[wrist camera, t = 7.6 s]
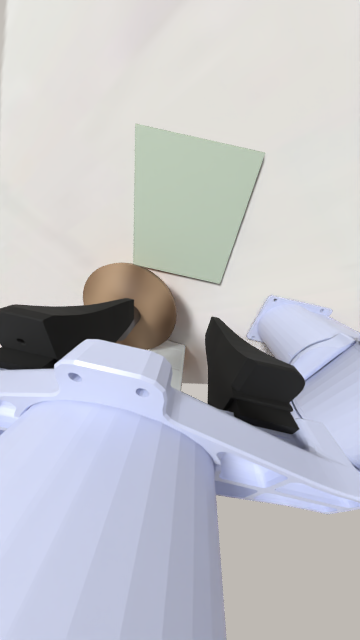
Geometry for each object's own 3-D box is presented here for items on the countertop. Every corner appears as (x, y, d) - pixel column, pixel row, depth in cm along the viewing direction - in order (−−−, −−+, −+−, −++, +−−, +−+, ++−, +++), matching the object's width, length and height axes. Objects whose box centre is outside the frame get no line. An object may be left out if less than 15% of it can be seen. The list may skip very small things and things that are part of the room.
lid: (185, 274, 17) (181, 286, 12) (169, 350, 23) (162, 378, 18) (85, 251, 17) (37, 253, 12) (97, 333, 23) (69, 357, 18)
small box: (177, 371, 30) (165, 446, 19) (150, 363, 30) (121, 435, 18) (186, 344, 26) (179, 420, 15) (155, 336, 26) (123, 405, 14)
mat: (263, 155, 13) (265, 152, 13) (219, 283, 20) (219, 283, 19) (137, 126, 13) (135, 123, 13) (134, 264, 20) (133, 264, 19)
